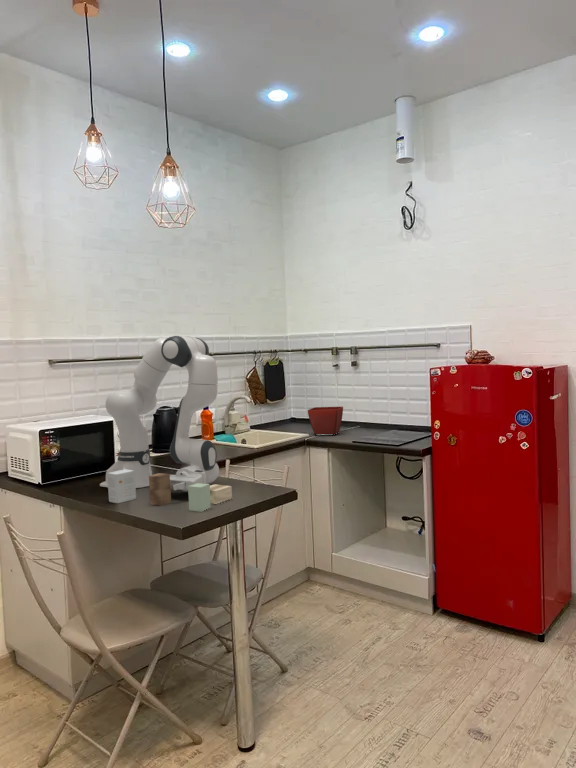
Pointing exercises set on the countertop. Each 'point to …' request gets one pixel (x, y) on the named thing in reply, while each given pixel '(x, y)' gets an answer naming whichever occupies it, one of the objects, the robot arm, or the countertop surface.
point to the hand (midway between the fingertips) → (162, 486)
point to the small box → (121, 486)
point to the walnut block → (159, 489)
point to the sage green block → (199, 497)
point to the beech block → (220, 493)
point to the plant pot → (325, 419)
